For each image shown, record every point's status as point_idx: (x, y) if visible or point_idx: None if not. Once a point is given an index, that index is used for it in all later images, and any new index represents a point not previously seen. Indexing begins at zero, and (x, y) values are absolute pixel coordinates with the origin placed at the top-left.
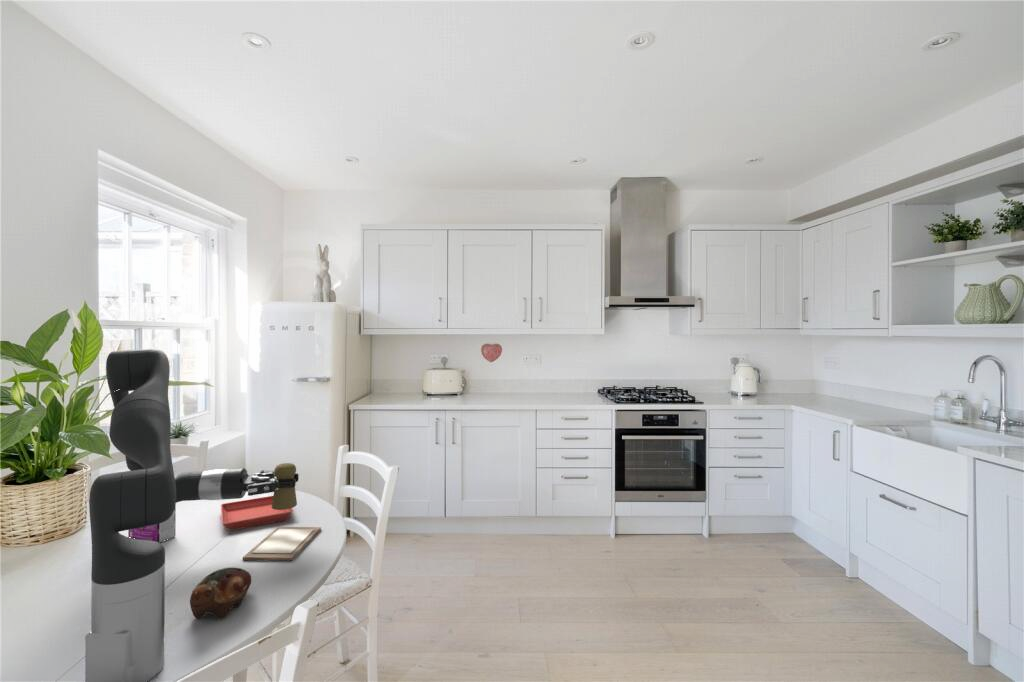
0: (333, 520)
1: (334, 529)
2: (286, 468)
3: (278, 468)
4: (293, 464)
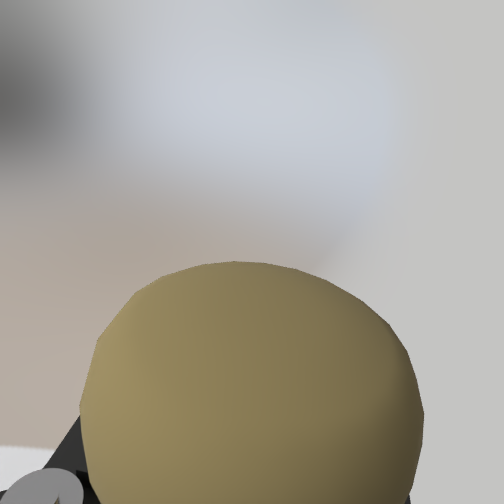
0: (22, 456)
1: None
2: (397, 343)
3: (396, 434)
4: (254, 263)
